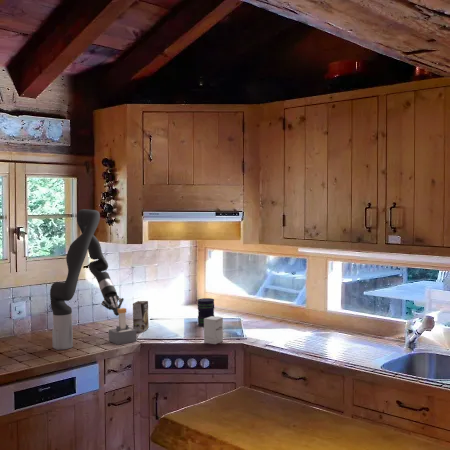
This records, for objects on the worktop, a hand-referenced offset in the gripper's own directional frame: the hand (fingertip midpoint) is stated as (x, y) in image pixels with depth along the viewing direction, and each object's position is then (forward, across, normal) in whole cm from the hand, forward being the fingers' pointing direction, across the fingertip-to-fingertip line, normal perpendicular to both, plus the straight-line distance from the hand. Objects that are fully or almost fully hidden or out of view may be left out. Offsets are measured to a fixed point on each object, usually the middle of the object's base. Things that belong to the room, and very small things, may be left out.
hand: (117, 314), depth 297 cm
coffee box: (+2, +19, +17) cm, 26 cm away
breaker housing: (+13, 0, +6) cm, 14 cm away
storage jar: (+11, +55, +8) cm, 57 cm away
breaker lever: (+8, 0, +1) cm, 8 cm away
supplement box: (+36, +36, -17) cm, 53 cm away
